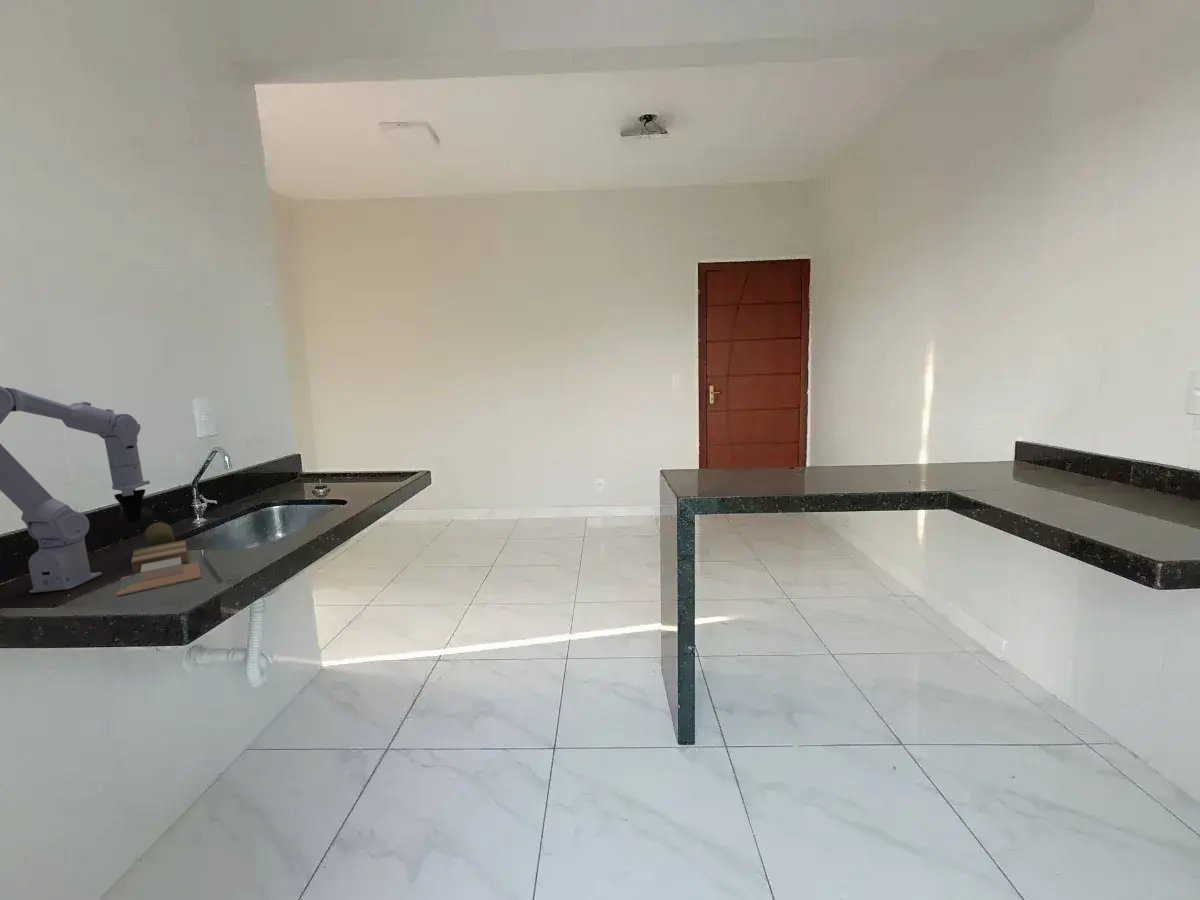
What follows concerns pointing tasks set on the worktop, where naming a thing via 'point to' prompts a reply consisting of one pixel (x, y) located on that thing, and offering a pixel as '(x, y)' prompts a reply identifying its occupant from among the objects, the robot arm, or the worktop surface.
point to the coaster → (161, 569)
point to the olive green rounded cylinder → (159, 534)
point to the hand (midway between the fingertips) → (135, 521)
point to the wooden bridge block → (158, 554)
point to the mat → (165, 579)
